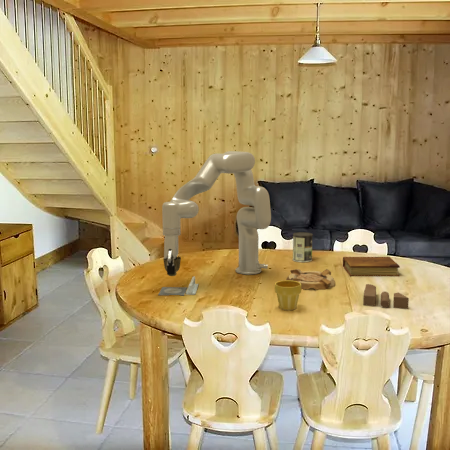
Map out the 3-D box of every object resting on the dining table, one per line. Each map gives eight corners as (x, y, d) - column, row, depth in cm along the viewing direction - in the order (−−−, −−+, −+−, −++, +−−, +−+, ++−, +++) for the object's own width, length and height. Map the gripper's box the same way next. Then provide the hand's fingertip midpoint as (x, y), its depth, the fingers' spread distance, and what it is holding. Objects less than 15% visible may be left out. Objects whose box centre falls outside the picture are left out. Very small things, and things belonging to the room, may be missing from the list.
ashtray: (298, 273, 266) (299, 263, 266) (345, 281, 253) (345, 270, 252) (273, 285, 247) (273, 274, 247) (322, 294, 234) (322, 283, 233)
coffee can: (310, 257, 296) (311, 231, 294) (313, 262, 286) (314, 235, 284) (291, 257, 296) (291, 232, 294) (293, 262, 286) (293, 235, 284)
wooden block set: (363, 293, 217) (365, 281, 234) (363, 307, 218) (365, 294, 235) (408, 296, 212) (407, 283, 229) (408, 310, 213) (406, 296, 230)
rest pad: (187, 288, 243) (187, 287, 243) (184, 295, 232) (184, 294, 232) (162, 287, 243) (162, 286, 243) (158, 295, 233) (158, 294, 232)
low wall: (198, 285, 247) (198, 276, 246) (195, 294, 233) (195, 285, 232) (189, 285, 247) (189, 276, 246) (185, 294, 233) (185, 285, 233)
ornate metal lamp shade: (178, 278, 232) (177, 259, 230) (161, 277, 233) (161, 258, 232) (183, 273, 239) (182, 255, 238) (166, 272, 240) (166, 254, 239)
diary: (388, 267, 278) (389, 256, 277) (399, 277, 260) (399, 265, 259) (342, 267, 279) (343, 255, 278) (349, 277, 260) (350, 265, 259)
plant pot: (272, 303, 221) (272, 280, 219) (297, 302, 222) (298, 279, 220) (276, 312, 211) (277, 287, 209) (303, 311, 212) (304, 286, 210)
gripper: (166, 227, 242) (166, 267, 245) (159, 235, 225) (160, 277, 228) (183, 227, 241) (183, 267, 244) (177, 235, 224) (178, 277, 227)
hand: (172, 271), depth 236 cm, fingers closed on ornate metal lamp shade, 6 cm apart
